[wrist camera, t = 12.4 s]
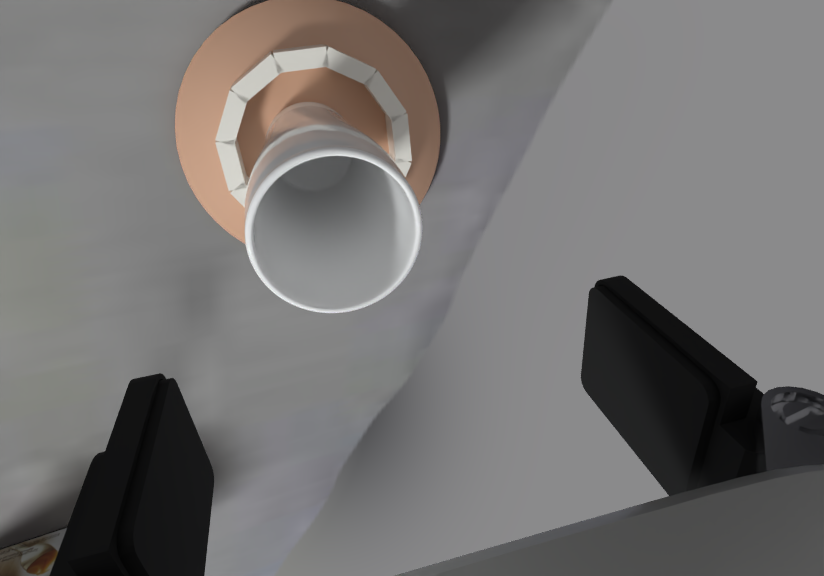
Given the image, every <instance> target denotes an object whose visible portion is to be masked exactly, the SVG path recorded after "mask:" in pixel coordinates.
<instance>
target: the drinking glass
mask: <svg viewBox="0 0 824 576" xmlns="http://www.w3.org/2000/svg"><path fill="white" fill-rule="evenodd" d="M244 223H245V243H246V249H247V252H248V256H249V259H250V261H251V264H252V266H253V268H254V270H255V271H256V273H257V274H258V276H259V278H260V279H261V280H262V281H263V283H264V284H265V285H266V286H267V287H268V288H269V289H270V290H271V291H272V292H274V293H275V294H276V295H277V296H279V297H280V298H282V299H283V300H285V301H287V302H289V303H290V304H293V305H295V306H297V307H300V308H303V309H306V310H310V311H314V312H321V313H341V312H348V311H354V310H357V309H361V308H364V307H366V306H369V305H371V304H373V303H375V302H377V301H379V300H381V299H382V298H384V297H385V296H387V295H388V294H389V293H391V292H392V291H393V290H394V289H395V288H396V287H397V286H398V285H399V284H400V283H401V282H402V281H403V280H404V279H405V277H406V276H407V275H408V273H409V272H410V270H411V269H412V267H413V265H414V263H415V261H416V259H417V256H418V253H419V250H420V246H421V242H422V234H423V223H422V214H421V209H420V206H419V202H418V200H417V198H416V195H415V193H414V191H413V189H412V188H411V186H410V185H409V183H408V181H407V179H406V178H405V176H404V174H403V173H402V171H401V170H400V169H399V167H398V166H397V164H396V163H395V162H394V160H393V159H392V158H391V157H390V156H389V154H388V153H387V152H386V151H385V150H384V149H383V148H382V147H381V146H380V145H379V144H378V143H377V142H376V141H374V140H373V139H372V138H371V137H369V136H368V135H367V134H365V133H364V132H362V131H361V130H359V129H358V128H356V127H355V126H353V125H352V124H350V123H349V122H347V121H346V120H345V119H344V118H343V117H342V116H341V115H340V114H339V113H338V112H337V111H335V110H334V109H332V108H330V107H329V106H326V105H324V104H321V103H316V102H300V103H296V104H293V105H290V106H288V107H286V108H285V109H283V110H282V111H281V112H279V113H278V114H277V115H276V117H275V118H274V119H273V120H272V122H271V124H270V126H269V128H268V130H267V133H266V138H265V142H264V145H263V147H262V149H261V151H260V153H259V155H258V157H257V159H256V162H255V164H254V167H253V169H252V172H251V175H250V178H249V182H248V186H247V191H246V198H245V210H244Z"/></svg>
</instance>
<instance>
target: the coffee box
mask: <svg viewBox="0 0 824 576" xmlns="http://www.w3.org/2000/svg"><path fill="white" fill-rule="evenodd" d="M66 529H67V528H65V529H62V530H59V531H56V532H53V533H49V534H46V535H43V536H40V537H37V538H34V539H31V540H28V541H25V542H22V543H19V544H16V545H13V546H10V547H7V548H4V549H1V550H0V576H49V575H50V573H51V570H52V567H53V564H54V562H55V559H56V556H57V554H58V551H59V548H60V546H61V543H62V540H63V538H64V535H65V532H66Z"/></svg>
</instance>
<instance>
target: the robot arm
mask: <svg viewBox="0 0 824 576" xmlns="http://www.w3.org/2000/svg"><path fill="white" fill-rule="evenodd" d="M581 381H582V384H583V387H584V389H585V391H586V392H587V393H588V395H589V396H590V397H591V398H592V400H593V401H594V402H595V404H596V405H597V406H598V407H599V408H600V410H601V411H602V412H603V414H604V415H605V416H606V417H607V419H608V420H609V421H610V422H611V424H612V425H613V426H614V427H615V428H616V430H617V431H618V432H619V434H620V435H621V436H622V437H623V438H624V440H625V441H626V442H627V444H628V445H629V446H630V447H631V449H632V450H633V451H634V452H635V454H636V455H637V456H638V457H639V459H641V461H642V462H643V464H644V465H645V466H646V467H647V469H648V470H649V471H650V472H651V474H652V475H653V476H654V477H655V478H656V480H657V481H658V482H659V483H660V485H661V486H662V487H663V489H664V490H665V491H666V492H667V494H668V495H669V496H668V497H665V498H662V499H658V500H654V501H651V502H647V503H644V504H641V505H637V506H633V507H630V508H626V509H623V510H619V511H616V512H612V513H609V514H605V515H602V516H598V517H595V518H591V519H587V520H584V521H580V522H577V523H574V524H570V525H566V526H563V527H560V528H556V529H553V530H549V531H546V532H542V533H539V534H535V535H532V536H529V537H525V538H522V539H519V540H515V541H511V542H508V543H505V544H501V545H498V546H494V547H491V548H487V549H484V550H480V551H477V552H474V553H470V554H467V555H463V556H460V557H456V558H453V559H450V560H446V561H443V562H439V563H436V564H432V565H429V566H426V567H422V568H419V569H416V570H412V571H409V572H405V573H402V574H399V575H395V576H824V395H822V394H820V393H818V392H815V391H811V390H808V389H804V388H797V387H777V388H774V389H771V390H768V391H767V392H766V393H765V394H763V393H762V392H761V391H759V390H758V389H757V388H756V385H757V381H756V380H755V379H754V378H752V377H751V376H750V375H749V374H747V373H746V372H745V371H743V370H742V369H741V368H740V367H738V366H737V365H736V364H735V363H733V362H732V361H731V360H730V359H728V358H727V357H726V356H725V355H723V354H722V353H721V352H719V351H718V350H717V349H716V348H714V347H713V346H712V345H711V344H709V343H708V342H707V341H706V340H704V339H703V338H702V337H701V336H699V335H698V334H697V333H695V332H694V331H693V330H692V329H691V328H689V327H688V326H687V325H686V324H684V323H683V322H682V321H680V320H679V319H678V318H677V317H675V316H674V315H673V314H672V313H670V312H669V311H668V310H667V309H665V308H664V307H663V306H662V305H660V304H659V303H658V302H656V301H655V300H654V299H653V298H651V297H650V296H649V295H648V294H646V293H645V292H644V291H643V290H641V289H640V288H639V287H638V286H636V285H635V284H634V283H632V282H631V281H630V280H629V279H627V278H626V277H624V276H616V277H611V278H607V279H603V280H599V281H597V282H596V284H595V287H594V288H592V289H591V290H590V291H589V298H588V309H587V319H586V329H585V340H584V350H583V360H582V371H581ZM213 487H214V475H213V470H212V466H211V464H210V461H209V459H208V456H207V454H206V452H205V449H204V447H203V444H202V442H201V440H200V437H199V435H198V432H197V430H196V428H195V425H194V423H193V420H192V418H191V416H190V413H189V411H188V408H187V406H186V404H185V401H184V399H183V396H182V394H181V392H180V389H179V387H178V384H177V382H176V380H175V379H174V378H170V379H166V378H165V376H164V375H163V374H161V373H160V374H155V375H150V376H146V377H141V378H136V379H133V380H131V381H130V383H129V385H128V388H127V391H126V393H125V396H124V399H123V402H122V405H121V408H120V411H119V413H118V416H117V419H116V422H115V425H114V428H113V431H112V433H111V436H110V439H109V442H108V445H107V448H106V451H105V452H101V453H98V454H97V455H96V456H95V457H94V459H93V461H92V462H91V465H90V467H89V470H88V473H87V476H86V478H85V481H84V484H83V486H82V489H81V492H80V494H79V497H78V500H77V502H76V505H75V508H74V511H73V513H72V516H71V519H70V521H69V524H68V527H67V529H66V532H65V535H64V538H63V540H62V543H61V546H60V548H59V551H58V554H57V556H56V559H55V562H54V564H53V567H52V570H51V573H50V575H49V576H204V572H205V563H206V553H207V544H208V535H209V525H210V516H211V506H212V497H213Z"/></svg>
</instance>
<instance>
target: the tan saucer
mask: <svg viewBox="0 0 824 576" xmlns="http://www.w3.org/2000/svg"><path fill="white" fill-rule="evenodd" d="M300 102H316V103H321V104H324V105H326V106H329V107H330V108H332V109H334V110H335V111H337V112H338V113H339V114H340V115H341V116H342V117H343V118H344V119H345V120H346V121H347V122H349V123H350V124H352V125H353V126H355V127H356V128H358V129H359V130H361V131H362V132H364V133H365V134H367V135H368V136H369V137H371V138H372V139H373V140H374V141H376V142H377V143H378V144H379V145H380V146H381V147H382V148H383V149H384V150H385V151H386V152H387V153H388V154H389V156H390V157H391V158H392V159H393V160H394V162H395V163H396V164H397V166H398V167H399V169H400V170H401V171H402V173H403V174H404V176H405V178H406V179H407V181H408V183H409V185H410V186H411V188H412V189H413V191H414V193H415V195H416V198H417V200H418V202H419V205H420V203H421V202H422V200H423V198H424V196H425V194H426V192H427V191H428V189H429V186H430V184H431V181H432V179H433V176H434V173H435V169H436V165H437V161H438V157H439V148H440V119H439V112H438V106H437V102H436V98H435V95H434V91H433V89H432V86H431V84H430V81H429V79H428V76H427V74H426V72H425V71H424V69H423V67H422V65H421V63H420V62H419V60H418V58H417V57H416V56H415V54H414V53H413V52H412V50H411V49H410V48H409V46H408V45H407V44H406V43H405V42H404V41H403V40H402V39H401V38H400V37H399V36H398V35H397V34H396V32H394V31H393V30H392V29H391V28H389V27H388V26H387V25H386V24H384V23H383V22H382V21H381V20H379V19H377V18H376V17H374V16H372V15H371V14H369V13H367V12H366V11H364V10H361V9H359V8H357V7H354V6H352V5H350V4H347V3H344V2H340V1H336V0H268V1H265V2H262V3H260V4H257V5H254V6H251V7H249V8H247V9H245V10H243V11H242V12H240V13H238V14H236V15H234V16H233V17H231V18H230V19H229V20H227V21H226V22H225V23H223V24H222V25H221V26H219V27H218V28H217V29H216V30H215V31H214V32H213V33H212V34H211V35H210V36H209V37H208V38H207V39H206V40H205V41H204V43H203V44H202V45H201V47H200V48H199V50H198V51H197V52H196V54H195V55H194V57H193V59H192V61H191V63H190V65H189V67H188V68H187V70H186V72H185V75H184V78H183V81H182V84H181V87H180V90H179V94H178V99H177V105H176V113H175V134H176V143H177V150H178V154H179V158H180V162H181V165H182V168H183V171H184V173H185V176H186V178H187V181H188V183H189V185H190V187H191V188H192V190H193V192H194V194H195V196H196V197H197V199H198V200H199V202H200V203H201V204H202V206H203V207H204V208H205V210H206V211H207V212H208V213H209V214H210V216H211V217H212V218H213V219H214V220H215V221H216V222H217V223H218V224H219V225H220V226H221V227H223V228H224V229H225V230H226V231H227V232H229V233H230V234H231V235H232V236H234V237H235V238H237V239H238V240H240V241H242V242H243V243H245V223H244V210H245V198H246V191H247V186H248V182H249V178H250V175H251V172H252V169H253V167H254V164H255V162H256V159H257V157H258V155H259V153H260V151H261V149H262V147H263V145H264V142H265V138H266V133H267V130H268V128H269V126H270V124H271V122H272V120H273V119H274V118H275V117H276V115H277V114H278V113H279V112H281V111H282V110H283V109H285V108H286V107H288V106H290V105H293V104H296V103H300ZM245 244H246V243H245Z"/></svg>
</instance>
